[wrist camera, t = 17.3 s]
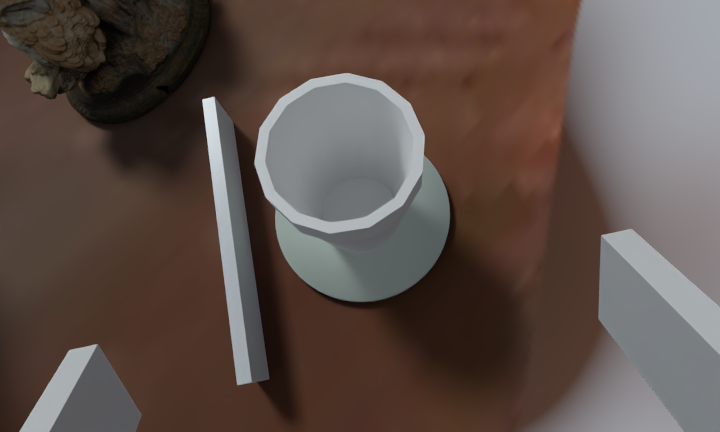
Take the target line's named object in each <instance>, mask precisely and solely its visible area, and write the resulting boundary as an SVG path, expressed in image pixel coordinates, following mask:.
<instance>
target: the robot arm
mask: <svg viewBox="0 0 720 432" xmlns="http://www.w3.org/2000/svg"><path fill="white" fill-rule="evenodd" d="M600 257H601V258H600V288H599V317H598V319H599V320H600V321H601V323H602V324H603V325H604V327H605V328H606V329H607V331H608V332H609V333H610V334H611V336H612V337H613V339H614V340H615V341H616V342H617V344H618V345H619V346H620V348H621V349H622V350H623V352H624V353H625V354H626V356H627V357H628V358H629V359H630V361H631V362H632V363H633V365H634V366H635V367H636V369H637V370H638V371H639V372H640V374H641V375H642V377H643V378H644V379H645V380H646V382H647V383H648V384H649V386H650V387H651V388H652V390H653V391H654V392H655V394H656V395H657V396H658V397H659V399H660V400H661V402H662V403H663V404H664V405H665V407H666V408H667V409H668V411H669V412H670V413H671V415H672V416H673V417H674V419H675V420H676V421H677V423H678V424H679V425H680V426H681V428H682V429H683V430H684V432H720V307H719V306H718V305H717V304H715V303H714V302H713V301H712V300H711V299H710V298H709V297H708V296H706V295H705V294H704V293H703V292H702V291H701V290H700V289H699V288H697V287H696V286H695V285H694V284H693V283H692V282H691V281H690V280H688V279H687V278H686V277H685V276H684V275H683V274H682V273H681V272H679V271H678V270H677V269H676V268H675V267H674V266H672V265H671V264H670V263H669V262H668V261H667V260H666V259H665V258H664V257H663V256H661V255H660V254H659V253H658V252H657V251H656V250H655V249H654V248H652V247H651V246H650V245H649V244H648V243H647V242H646V241H645V240H643V239H642V238H641V237H640V236H639V235H638V234H637V233H635V232H634V231H633V230H632V229H628V230H624V231H620V232H615V233H610V234H606V235H601V256H600ZM141 416H142V415H141V413H140V411H139V410H138V408H137V407H136V405H135V403H134V402H133V400H132V399H131V397H130V395H129V394H128V392H127V390H126V389H125V387H124V386H123V384H122V382H121V381H120V379H119V378H118V376H117V374H116V373H115V371H114V369H113V368H112V366H111V365H110V363H109V361H108V360H107V358H106V357H105V355H104V353H103V352H102V350H101V348H100V347H99V345H98V344H96V345H91V346H87V347H82V348H77V349H73V350H69V352H68V353H67V355H66V357H65V358H64V360H63V361H62V363H61V365H60V366H59V368H58V370H57V371H56V373H55V374H54V376H53V378H52V379H51V381H50V383H49V384H48V386H47V387H46V389H45V391H44V392H43V394H42V396H41V397H40V399H39V400H38V402H37V404H36V405H35V407H34V409H33V410H32V412H31V414H30V415H29V417H28V418H27V420H26V422H25V423H24V425H23V427H22V428H21V430H20V431H19V432H136V429H137V426H138V424H139V421H140V418H141Z"/></svg>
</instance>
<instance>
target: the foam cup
mask: <svg viewBox="0 0 720 432" xmlns="http://www.w3.org/2000/svg"><path fill="white" fill-rule="evenodd" d="M424 140H425V135H424V133H423V131H422V128H421V126H420V124H419V122H418V120H417V117H416V115H415V113H414V111H413V109H412V107H411V104H410V103H409V102H408V101H406V100H405V99H404V98H403V97H401V96H400V95H399V94H398V93H396V92H395V91H394V90H393V89H391V88H390V87H389V86H387V85H386V84H385V83H384V82H382V81H379V80H374V79H370V78H366V77H362V76H358V75H353V74H349V73H344V74H338V75H332V76H327V77H321V78H315V79H310V80H309V81H307V82H306V83H304V84H302V85H301V86H299V87H298V88H296V89H295V90H293V91H291V92H290V93H288V94H287V95H285V96H283V97H282V98H280V99H279V101H278V102H277V104H276V105H275V107H274V108H273V110H272V111H271V113H270V114H269V116H268V117H267V118H266V120H265V121H264V123H263V124H262V126H261V127H260V129H259V136H258V142H257V149H256V155H255V162H254V164H255V167H256V170H257V173H258V176H259V179H260V182H261V185H262V188H263V191H264V194H265V197H266V198H267V199H268V201H269V202H270V203H271V204H272V205H273V206H274V207H275V208H276V210H278V211H279V212H280V213H281V214H282V215H283V216H284V217H285V218H286V219H287V220H288V221H289V222H290V223H291V224H292V225H293V226H294V227H295V228H297V229H298V230H299V231H300V232H301V233H303V234H306V235H309V236H313V237H316V238H319V239H322V240H324V241H326V242H328V243H330V244H332V245H333V246H335V247H337V248H340V249H343V250H346V251H350V252H353V253H356V254H358V253H364V252H371V251H375V250H377V249H378V248H380V247H381V246H383V245H384V244H386V243H387V242H389V241H390V240H391V238H392V236H393V234H394V233H395V231H396V229H397V228H398V226H399V224H400V222H401V220H402V218H403V217H404V215H405V214H406V212H407V210H408V209H409V207H410V205H411V203H412V202H413V200H414V198H415V197H416V195H417V193H418V192H419V190H420V188H421V186H422V174H423V157H424Z"/></svg>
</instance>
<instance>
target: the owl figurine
mask: <svg viewBox="0 0 720 432" xmlns="http://www.w3.org/2000/svg"><path fill="white" fill-rule="evenodd" d="M208 2H209V1H208V0H0V28H1V29H2V31H3V34H4V36H5V38H7V40H8V42H9V44H11V45H12V46H13V47H14V48H17V49H19V50H21V51H23V52H25V53H28V54H29V57H31V58H32V59H33V60H34V61H33V63H32V64H31V66H30V67H29V68H28V69H27V71H26V74H25V80H27V81H28V82H30V83H32V86H31V91H32V92H33V93H35V94H40V95H42V96H45V97H46V98H47V99H55V98H56V96H57V94H62V93H65V92H66V95H67V98H68V100H69V102H70V104H71V106H72V107H73V108H74V109H75V110H76V111H77V112H78V113H80V114H81V115H82V116H85V117H86V118H88V119H91V120H95V121H99V122H102V123H120V122H125V121H128V120H132V119H136V118H138V117H140V116H142V115H144V114H146V113H147V112H149V111H150V110H152V109H153V108H154V107H155V106H156V105H157V104H159V103H161V102H163V101H164V100H165V99H166V98H167V96H166V93H165V92H164V91H163V90H158V89H157V86H168V91H173V90H175V89H176V88H177V87H179V86H180V85H181V83H182V82H183V81H184V79H185V78H186V77H187V75H188V73H189V72H190V70H191V69H192V67H193V66H194V64H195V63H196V61H197V59H198V57H199V56H200V54H201V51H202V49H203V46H204V44H205V41H206V37H207V34H208V30H209V23H210V5H209V3H208Z"/></svg>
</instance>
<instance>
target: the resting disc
mask: <svg viewBox="0 0 720 432" xmlns="http://www.w3.org/2000/svg"><path fill="white" fill-rule="evenodd" d="M275 224H276V232H277V238H278V241H279V244H280V248H281V250H282V252H283V254H284V256H285V258H286V260H287V262H288V263H289V265H290V266H291V268H292V269H293V270H294V271H295V272H296V273H297V275H298V276H299V277H300V278H302V279H303V280H304V281H305V282H306V283H307V284H309V285H310V286H312V287H313V288H315V289H316V290H318V291H319V292H321V293H323V294H325V295H328V296H330V297H333V298H336V299H339V300H344V301H349V302H374V301H379V300H384V299H387V298H390V297H393V296H396V295H398V294H400V293H402V292H404V291H406V290H408V289H409V288H411V287H412V286H413V285H415V284H416V283H418V282H419V281H420V280H421V279H422V278H423V277H424V276H425V275H426V274H427V273H428V272H429V271H430V269H431V268H432V267H433V266H434V264H435V263H436V261H437V259H438V258H439V256H440V254H441V252H442V250H443V247H444V245H445V242H446V238H447V235H448V230H449V224H450V206H449V199H448V195H447V191H446V188H445V186H444V183H443V181H442V179H441V177H440V175H439V173H438V172H437V170H436V168H435V167H434V166H433V165H432V163H431V162H430V161H429V160H428V159H427V158H426V157H425V156H424V157H423V174H422V186H421V188H420V190H419V192H418V193H417V195H416V197H415V198H414V200H413V202H412V203H411V205H410V207H409V209H408V210H407V212H406V214H405V215H404V217H403V218H402V220H401V222H400V224H399V226H398V228H397V229H396V231H395V233H394V234H393V236H392V238H391V240H390V241H389V242H387V243H386V244H384V245H383V246H381V247H380V248H378V249H377V250H375V251H371V252H364V253H358V254H356V253H353V252H350V251H346V250H343V249H340V248H337V247H335V246H333V245H332V244H330V243H328V242H326V241H324V240H322V239H319V238H316V237H313V236H309V235H306V234H303V233H301V232H300V231H299V230H298V229H297V228H295V227H294V226H293V225H292V224H291V223H290V222H289V221H288V220H287V219H286V218H285V217H284V216H283V215H282V214H281V213H280V212H279V211H278V210H276V214H275Z"/></svg>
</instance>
